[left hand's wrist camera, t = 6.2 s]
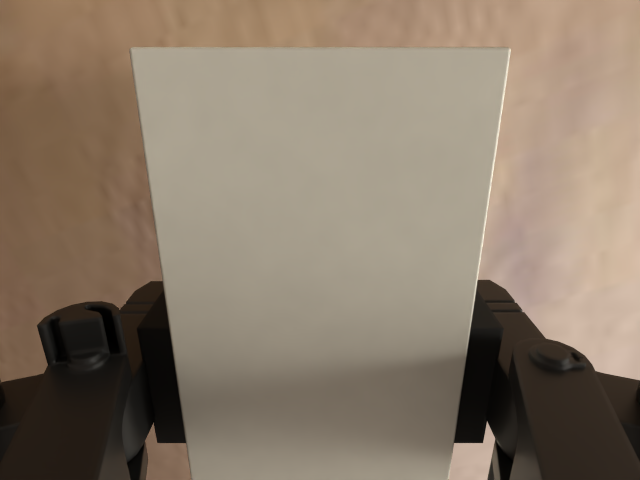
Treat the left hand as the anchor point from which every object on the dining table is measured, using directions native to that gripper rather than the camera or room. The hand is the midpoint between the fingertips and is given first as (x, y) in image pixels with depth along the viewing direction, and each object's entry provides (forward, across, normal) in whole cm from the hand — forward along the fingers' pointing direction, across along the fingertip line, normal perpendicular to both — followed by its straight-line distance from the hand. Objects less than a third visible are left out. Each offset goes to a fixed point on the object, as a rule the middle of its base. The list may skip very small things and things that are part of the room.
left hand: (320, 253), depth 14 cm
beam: (0, 0, -32) cm, 32 cm away
